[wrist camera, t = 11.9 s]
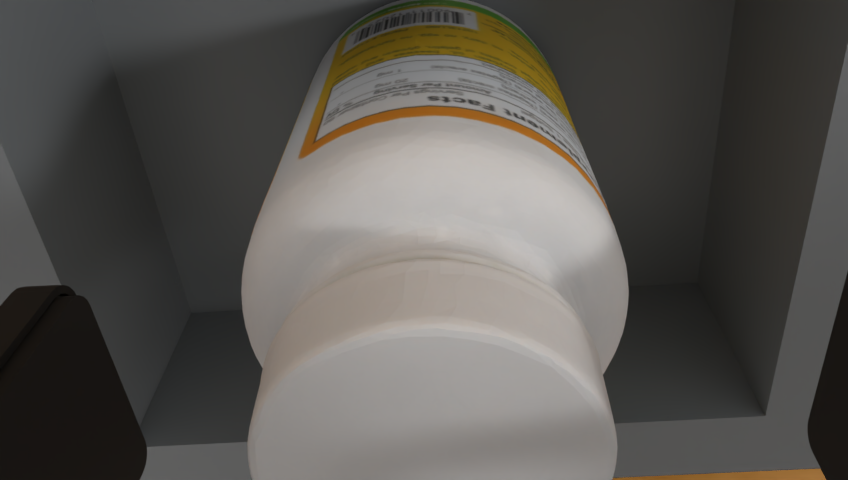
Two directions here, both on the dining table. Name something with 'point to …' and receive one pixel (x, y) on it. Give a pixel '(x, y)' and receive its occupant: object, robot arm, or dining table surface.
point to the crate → (601, 140)
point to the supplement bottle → (433, 265)
